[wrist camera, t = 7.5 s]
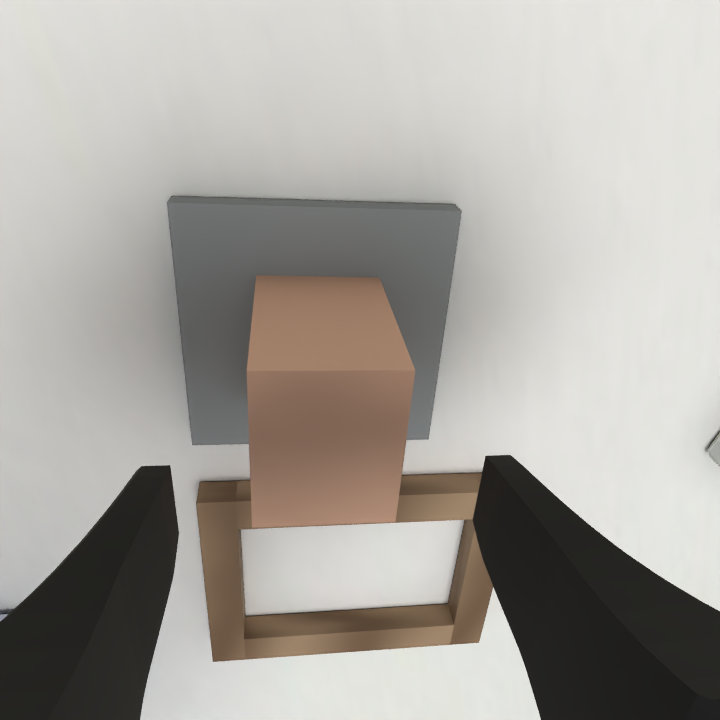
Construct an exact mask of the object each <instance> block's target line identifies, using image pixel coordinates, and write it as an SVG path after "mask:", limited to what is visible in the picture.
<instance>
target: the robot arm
mask: <svg viewBox="0 0 720 720" xmlns="http://www.w3.org/2000/svg"><path fill="white" fill-rule="evenodd" d="M473 524H474V528H475V532H476V536H477V540H478V544H479V548H480V551H481V555H482V559H483V561H484V564H485V567H486V569H487V572H488V574H489V577H490V579H491V582H492V584H493V587H494V589H495V592H496V594H497V597H498V599H499V601H500V604H501V606H502V609H503V611H504V614H505V616H506V618H507V621H508V623H509V626H510V628H511V631H512V633H513V636H514V638H515V640H516V643H517V645H518V648H519V650H520V653H521V656H522V659H523V661H524V664H525V667H526V670H527V674H528V677H529V680H530V684H531V687H532V690H533V694H534V697H535V700H536V704H537V707H538V710H539V714H540V717H541V720H720V611H718V610H716V609H714V608H712V607H711V606H709V605H707V604H705V603H703V602H701V601H700V600H698V599H696V598H695V597H693V596H691V595H690V594H688V593H686V592H685V591H683V590H681V589H679V588H678V587H676V586H674V585H673V584H671V583H670V582H668V581H666V580H665V579H663V578H662V577H660V576H658V575H657V574H655V573H654V572H652V571H651V570H650V569H648V568H647V567H645V566H644V565H642V564H641V563H639V562H638V561H636V560H635V559H633V558H632V557H631V556H629V555H628V554H626V553H625V552H624V551H622V550H621V549H619V548H618V547H617V546H615V545H614V544H613V543H612V542H610V541H609V540H608V539H606V538H605V537H604V536H603V535H601V534H600V533H599V532H597V531H596V530H595V529H594V528H592V527H591V526H590V525H589V524H588V523H586V522H585V521H584V520H583V519H582V518H580V517H579V516H578V515H577V514H576V513H574V512H573V511H572V510H571V509H570V508H569V507H568V506H566V505H565V504H564V503H563V502H562V501H561V500H560V499H558V498H557V497H556V496H555V495H554V494H553V493H552V492H551V491H550V490H548V489H547V488H546V487H545V486H544V485H543V484H542V483H541V482H540V481H539V480H538V479H536V478H535V477H534V476H533V475H532V474H531V473H530V472H529V471H528V470H527V469H526V468H525V467H523V466H522V465H521V464H520V463H519V462H518V461H517V460H516V459H514V458H513V457H512V456H511V455H499V456H486V457H485V462H484V467H483V472H482V476H481V481H480V486H479V491H478V496H477V500H476V505H475V510H474V515H473ZM178 536H179V531H178V523H177V515H176V507H175V499H174V492H173V484H172V476H171V468H170V465H169V466H141V467H140V468H139V469H138V470H137V471H136V472H135V474H134V475H133V476H132V478H131V479H130V480H129V482H128V483H127V485H126V486H125V487H124V489H123V490H122V491H121V493H120V494H119V495H118V497H117V498H116V499H115V500H114V502H113V503H112V504H111V506H110V507H109V508H108V509H107V511H106V512H105V513H104V514H103V516H102V517H101V518H100V519H99V520H98V522H97V523H96V524H95V525H94V526H93V528H92V529H91V530H90V531H89V532H88V534H87V535H86V536H85V537H84V538H83V540H82V541H81V542H80V543H79V544H78V545H77V546H76V547H75V548H74V550H73V551H72V552H71V553H70V554H69V555H68V556H67V557H66V558H65V559H64V560H63V561H62V563H61V564H60V565H59V566H58V567H57V568H56V569H55V570H54V571H53V572H52V573H51V574H50V575H49V576H48V577H47V578H46V579H45V580H44V581H43V582H42V583H41V584H40V585H39V586H38V587H37V588H36V589H35V590H34V591H33V592H32V593H31V594H30V595H29V596H28V597H27V598H26V599H25V600H24V601H23V602H21V603H20V604H19V605H18V606H17V607H16V608H15V609H14V610H13V611H12V612H11V613H9V614H1V615H0V720H140V715H141V709H142V703H143V697H144V692H145V688H146V683H147V678H148V674H149V670H150V666H151V662H152V658H153V654H154V651H155V647H156V643H157V639H158V635H159V631H160V627H161V623H162V619H163V616H164V612H165V608H166V604H167V600H168V596H169V592H170V588H171V584H172V580H173V574H174V567H175V560H176V552H177V544H178Z"/></svg>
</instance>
